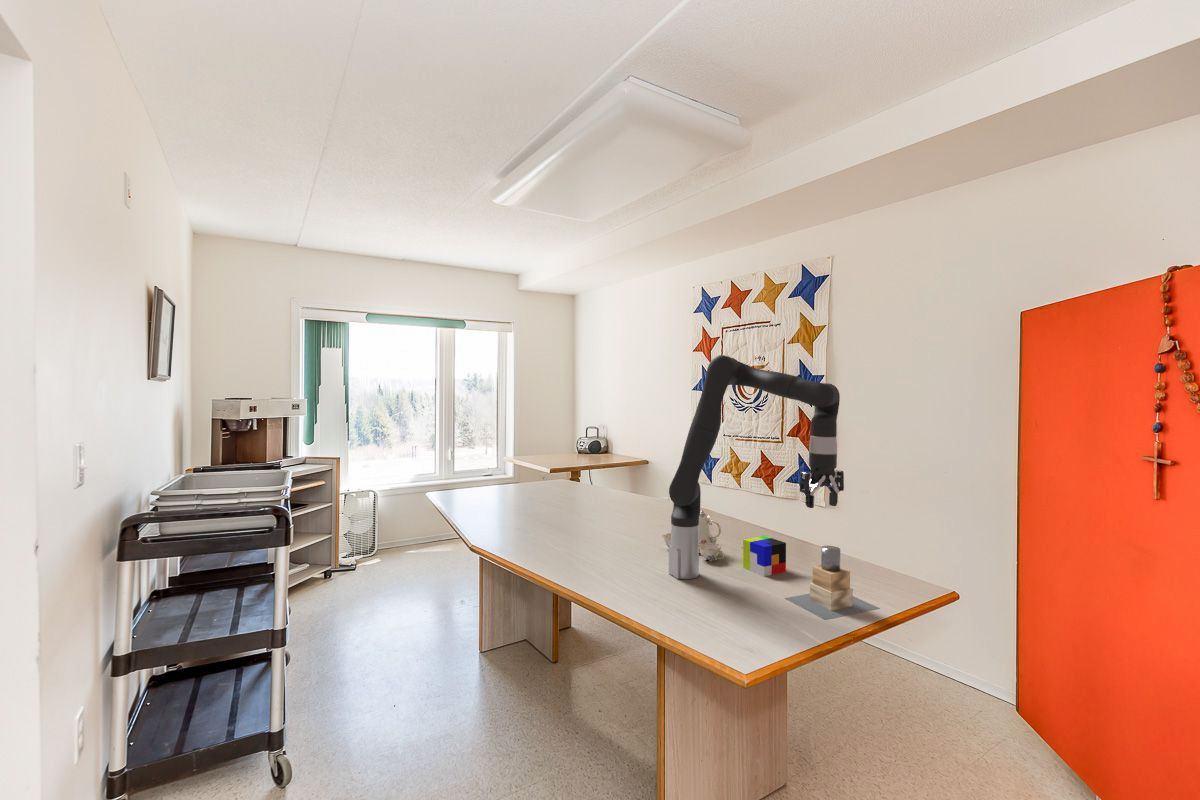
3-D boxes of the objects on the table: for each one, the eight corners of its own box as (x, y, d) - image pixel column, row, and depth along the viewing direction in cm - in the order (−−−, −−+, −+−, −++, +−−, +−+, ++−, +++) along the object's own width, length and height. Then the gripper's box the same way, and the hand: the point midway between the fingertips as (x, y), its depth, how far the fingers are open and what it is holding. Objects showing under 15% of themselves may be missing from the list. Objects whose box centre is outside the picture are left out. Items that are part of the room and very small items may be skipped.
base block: (831, 610, 150) (831, 592, 149) (810, 600, 157) (810, 583, 157) (852, 606, 152) (852, 588, 152) (831, 596, 160) (831, 579, 160)
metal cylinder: (830, 572, 151) (830, 551, 151) (817, 567, 156) (817, 546, 156) (844, 570, 153) (844, 549, 153) (830, 565, 158) (830, 544, 158)
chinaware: (655, 553, 209) (652, 512, 207) (680, 540, 221) (677, 501, 219) (717, 570, 189) (715, 525, 188) (741, 555, 201) (739, 512, 200)
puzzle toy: (764, 576, 178) (764, 546, 178) (743, 567, 187) (743, 539, 187) (785, 571, 183) (786, 542, 183) (764, 563, 192) (764, 535, 192)
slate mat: (825, 622, 144) (825, 619, 144) (784, 600, 158) (784, 598, 158) (880, 610, 151) (880, 608, 151) (836, 590, 166) (836, 588, 166)
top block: (830, 592, 150) (831, 574, 150) (812, 583, 157) (812, 566, 156) (849, 588, 153) (850, 571, 152) (831, 580, 159) (831, 563, 159)
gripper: (813, 454, 150) (811, 511, 151) (851, 452, 155) (850, 507, 156) (794, 450, 157) (793, 505, 158) (832, 449, 162) (830, 502, 163)
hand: (821, 506), depth 157 cm, fingers open, 8 cm apart
